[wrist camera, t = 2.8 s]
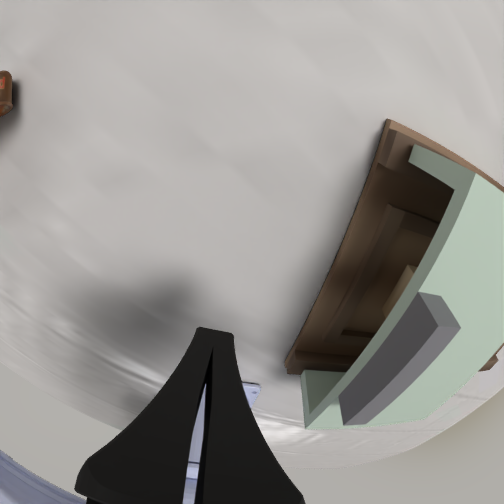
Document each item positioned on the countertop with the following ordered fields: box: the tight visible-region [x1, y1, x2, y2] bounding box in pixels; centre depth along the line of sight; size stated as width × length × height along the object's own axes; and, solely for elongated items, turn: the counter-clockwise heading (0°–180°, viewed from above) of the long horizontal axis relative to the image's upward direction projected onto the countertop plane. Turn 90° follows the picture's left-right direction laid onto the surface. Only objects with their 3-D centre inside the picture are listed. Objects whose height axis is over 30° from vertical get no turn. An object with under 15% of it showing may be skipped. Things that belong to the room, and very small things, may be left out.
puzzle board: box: [285, 119, 504, 375], centre depth 18 cm, size 20×30×2 cm, turn 77°
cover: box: [300, 144, 504, 429], centre depth 13 cm, size 18×12×7 cm, turn 167°
